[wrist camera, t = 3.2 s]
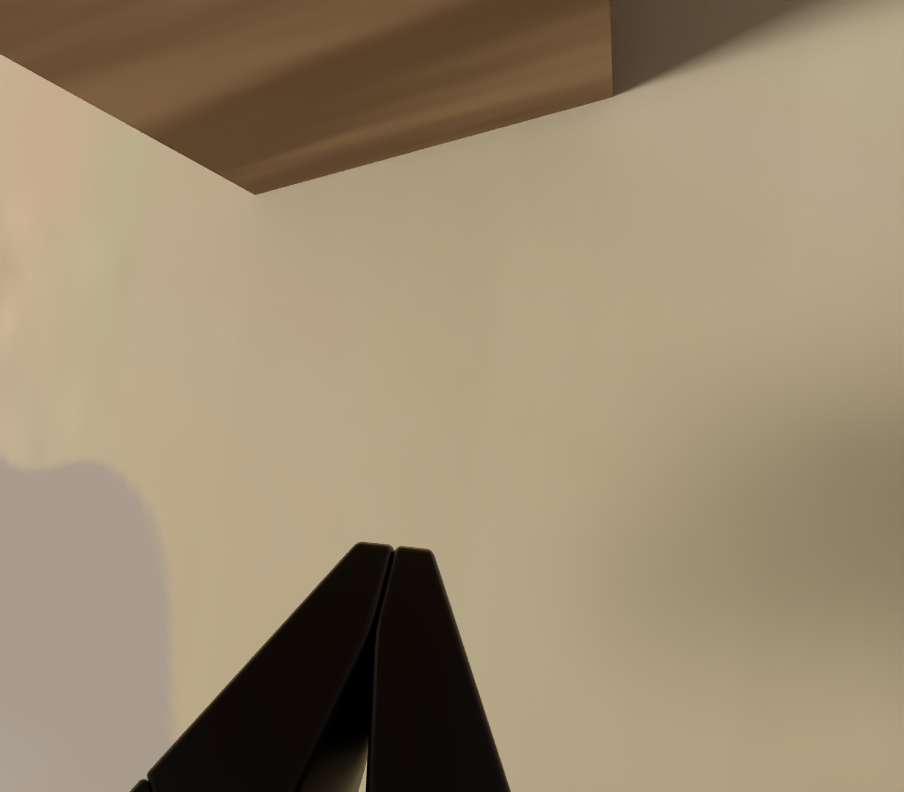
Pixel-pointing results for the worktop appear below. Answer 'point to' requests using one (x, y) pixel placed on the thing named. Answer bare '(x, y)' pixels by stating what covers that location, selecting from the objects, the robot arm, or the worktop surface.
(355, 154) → the walnut slab
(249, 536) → the worktop surface
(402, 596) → the robot arm
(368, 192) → the worktop surface
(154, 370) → the worktop surface
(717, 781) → the worktop surface
